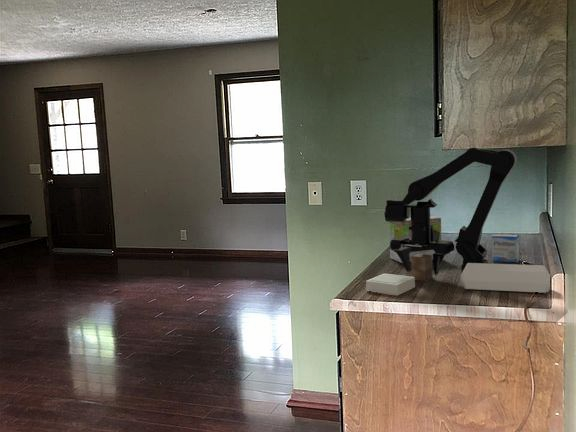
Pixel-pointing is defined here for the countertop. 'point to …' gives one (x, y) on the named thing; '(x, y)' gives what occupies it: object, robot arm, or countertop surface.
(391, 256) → the tea box
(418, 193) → the robot arm
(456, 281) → the countertop surface
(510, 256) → the medicine box
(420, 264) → the walnut block
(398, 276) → the base slab
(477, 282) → the crystal
